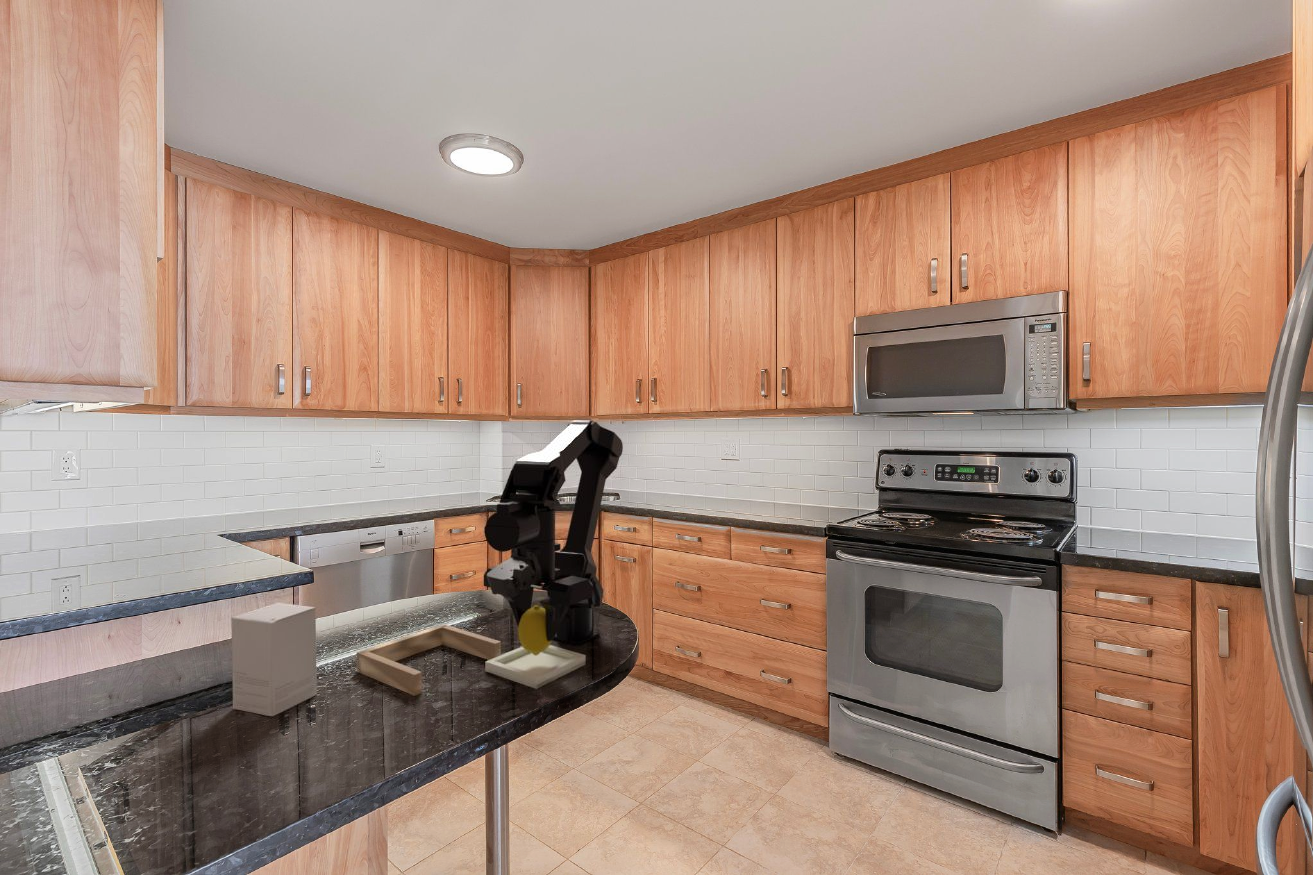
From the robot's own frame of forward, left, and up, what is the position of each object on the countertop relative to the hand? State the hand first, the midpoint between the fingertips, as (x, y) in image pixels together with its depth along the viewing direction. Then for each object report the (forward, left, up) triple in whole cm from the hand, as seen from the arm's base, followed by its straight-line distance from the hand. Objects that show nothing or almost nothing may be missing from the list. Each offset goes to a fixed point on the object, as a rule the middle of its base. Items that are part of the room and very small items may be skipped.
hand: (536, 636), depth 98 cm
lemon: (0, 0, -3) cm, 3 cm away
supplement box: (+29, -21, -5) cm, 36 cm away
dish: (0, 0, -5) cm, 5 cm away
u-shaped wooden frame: (+9, -14, -5) cm, 17 cm away
